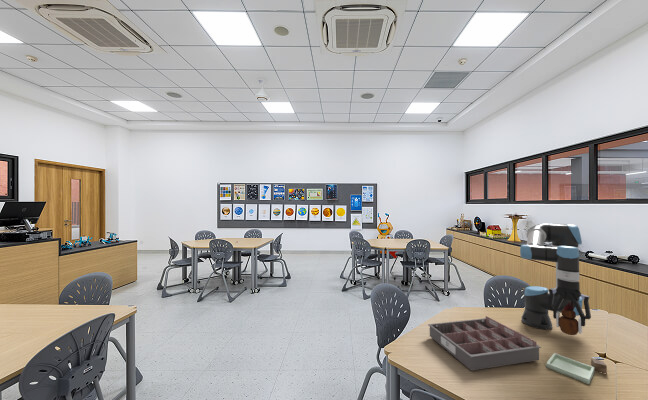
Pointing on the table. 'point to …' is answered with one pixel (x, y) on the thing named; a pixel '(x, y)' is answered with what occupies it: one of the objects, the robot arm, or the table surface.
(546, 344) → the table surface
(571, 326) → the wooden figurine
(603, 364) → the walnut cube
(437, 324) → the organizer tray
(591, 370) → the green tray
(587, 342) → the table surface
